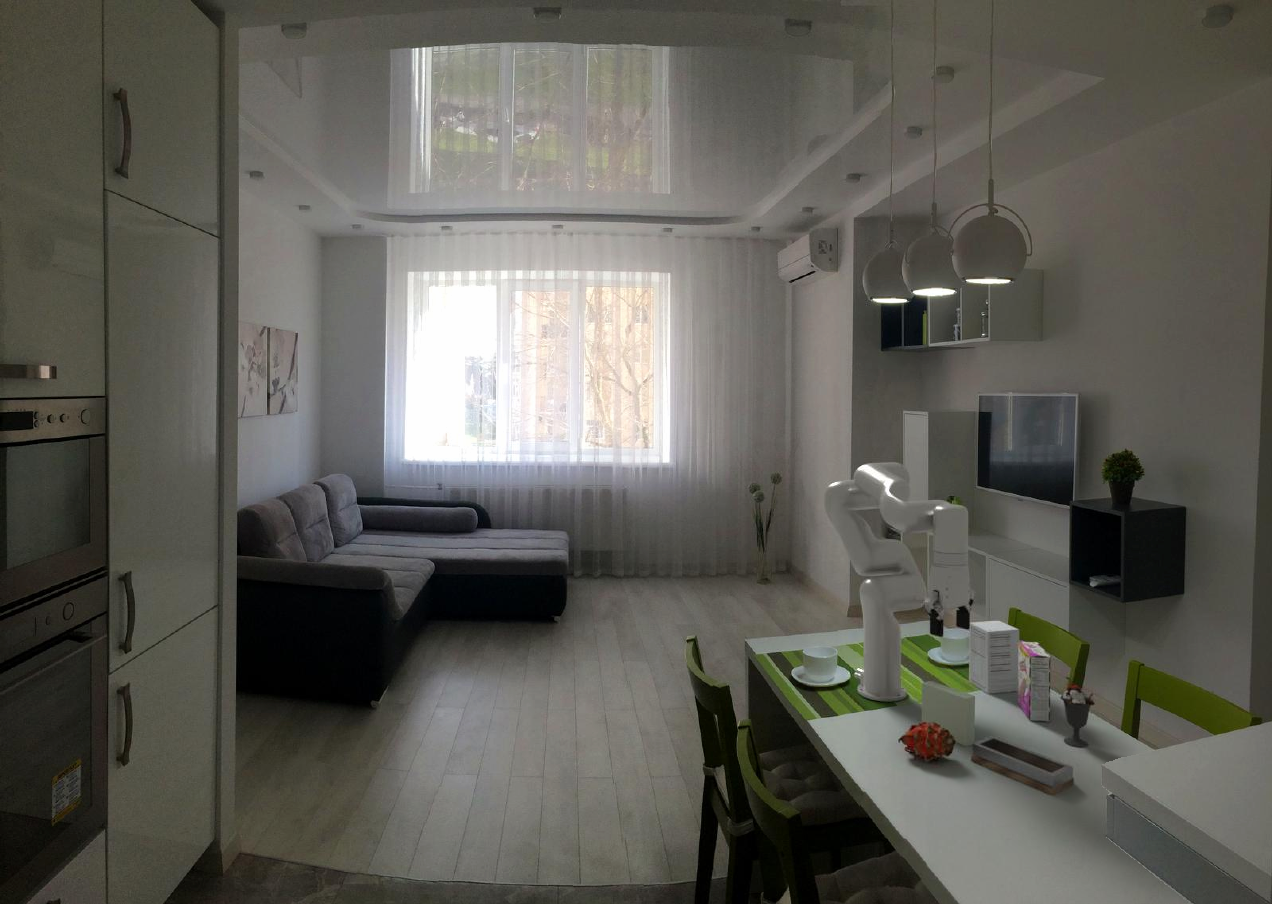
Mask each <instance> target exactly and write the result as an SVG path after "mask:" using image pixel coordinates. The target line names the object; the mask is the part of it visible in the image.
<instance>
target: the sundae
mask: <svg viewBox="0 0 1272 904" xmlns="http://www.w3.org/2000/svg"><path fill="white" fill-rule="evenodd" d="M1065 678H1066V679H1067V680H1068V681H1069V685H1068V686H1067V687H1066V690H1065V691H1064V693H1063V694H1062V695H1061V696H1060V699H1061V701H1063V705H1064V712H1065V713H1064V714H1065V719H1066V722H1067V723H1068V724H1069V725H1070V726H1071V727H1072V736H1071V737H1070V736H1069V737H1065V738H1064V739H1063V742H1064V743H1065V744H1066V745H1068V746H1070V747H1075V748H1087V747H1088V746H1089V743H1088V741H1086V740H1085V739H1083V738H1081V737H1080V729H1081V728H1084V727H1085V726H1086V725H1087V723H1088V719H1089V712H1090V710H1091V709H1090V708H1091V706H1095V701H1094V699H1092V698H1091V697H1092V696H1093V693H1091V694H1090V695H1089V696H1087V692H1086V691H1085V690H1084V689H1083V688H1081V687H1079V686H1078V685H1076V684H1075V683H1074V682H1073V680H1072V679H1071V678H1070V677H1069V676H1065ZM1071 684H1072V685H1071Z"/></svg>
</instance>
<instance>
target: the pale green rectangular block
mask: <svg viewBox="0 0 1272 904" xmlns="http://www.w3.org/2000/svg"><path fill="white" fill-rule="evenodd" d="M975 714H976V696H975V695H973V694H970V693H967V692H965V691H962V690H958V689H956V688H953V687H950V686H947V685H945V684H941V683H939V682H936V681H933V680H928V681H925V682H922V683H921V722H926V723H927V724H928V723H931V724H932V725H933V723H932V722H936V723H937V724H939V725H940V726H941V728H945V729H947V730H948V731H949V733H950V734H951V735H952V736H953V737H954V740H955V741H956V743H958V744H961V745H962V746H965V747H967V746H971V745H973V743H975V737H976V736H975V732H976V730H975V725H976V724H975V723H976V718H975V717H976V715H975Z"/></svg>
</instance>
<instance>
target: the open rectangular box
mask: <svg viewBox="0 0 1272 904" xmlns="http://www.w3.org/2000/svg"><path fill="white" fill-rule="evenodd" d="M971 752H972V753H971V755H970V762H973V763H976V764H977V765H981V766H982V767H984V768H987V769H990V770H992V771H995V772H996V773H999V774H1001V775H1004V776H1006V777H1008V778H1011V779H1013V780H1015V781H1018V782H1020V783H1023V784H1025V785H1027V786H1030V787H1032V788H1035V789H1036V790H1040V791H1042V792H1043V793H1046V794H1049V795H1051V796H1052V795H1054V794H1056V793H1059V792H1060V791H1062V790H1064V789H1067V788H1068V787H1070V786H1072V785H1074V784H1075V778H1074V766H1072V765H1069V764H1067V763H1064V762H1062V761H1059V760H1057V759H1054V758H1051V757H1048V756H1045V755H1044V754H1040V753H1038V752H1035V751H1033V750H1030V749H1028V748H1025V747H1023V746H1020V745H1017V744H1014V743H1012V742H1009V741H1007V740H1005V739H1002V738H998V737H996V736H994V735H990V736H989V737H986V738H983V739H981V740H978V741H974V743H973V744H972V751H971Z"/></svg>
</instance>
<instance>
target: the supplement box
mask: <svg viewBox="0 0 1272 904" xmlns="http://www.w3.org/2000/svg"><path fill="white" fill-rule="evenodd" d="M968 631H969V633H968V635H969V636H968V646H969V649H968V651H969V652H968V666H969V667H968V670H969V671H968V683H970V684H971V685H973V686H975V687H977V688H978V689H980V690H981V691H983V692H985V693H986V694H999V693H1000V694H1001V693H1002V692H1003V693H1012V692H1011V691H1016V692H1018V642H1020V629H1018V628H1016V627H1015V626H1012V625H1009V624H1007V623H1005V622H1003V621H1001V620H989V621H986V620H985V621H975V622H970V629H968Z"/></svg>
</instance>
